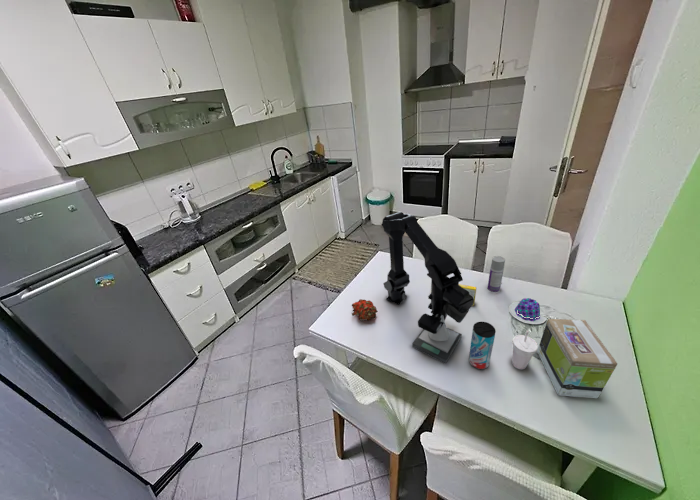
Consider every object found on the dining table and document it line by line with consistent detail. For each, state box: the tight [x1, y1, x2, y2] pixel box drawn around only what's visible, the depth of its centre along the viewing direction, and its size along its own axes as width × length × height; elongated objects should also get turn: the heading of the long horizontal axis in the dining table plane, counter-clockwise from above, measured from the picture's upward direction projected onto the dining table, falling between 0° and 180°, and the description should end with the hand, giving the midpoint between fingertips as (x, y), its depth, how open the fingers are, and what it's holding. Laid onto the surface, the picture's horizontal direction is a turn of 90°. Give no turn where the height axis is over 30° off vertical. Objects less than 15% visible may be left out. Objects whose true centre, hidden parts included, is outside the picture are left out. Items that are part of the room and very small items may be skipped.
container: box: [487, 255, 506, 293], centre depth 111 cm, size 5×5×15 cm
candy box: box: [459, 283, 477, 307], centre depth 111 cm, size 16×2×8 cm, turn 63°
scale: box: [411, 327, 463, 365], centre depth 96 cm, size 12×13×2 cm
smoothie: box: [511, 330, 539, 370], centre depth 82 cm, size 6×6×14 cm
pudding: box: [508, 297, 548, 325], centre depth 101 cm, size 12×12×5 cm
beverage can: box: [468, 321, 497, 370], centre depth 84 cm, size 6×6×15 cm
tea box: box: [536, 318, 618, 399], centre depth 77 cm, size 15×10×15 cm, turn 170°
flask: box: [428, 315, 449, 342], centre depth 93 cm, size 7×7×10 cm
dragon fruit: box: [351, 298, 379, 322], centre depth 110 cm, size 8×8×12 cm
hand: (438, 327), depth 94 cm, fingers closed on flask, 5 cm apart
